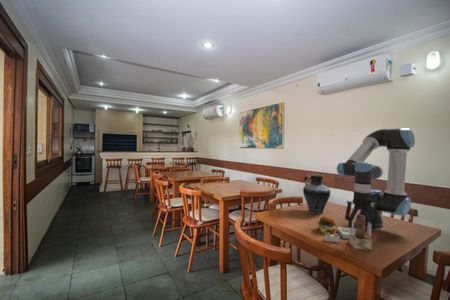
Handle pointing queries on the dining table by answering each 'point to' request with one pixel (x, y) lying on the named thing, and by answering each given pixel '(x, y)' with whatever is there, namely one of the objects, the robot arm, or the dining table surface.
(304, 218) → the dining table surface
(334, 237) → the rail
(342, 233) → the tray
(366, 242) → the jig block
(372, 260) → the dining table surface
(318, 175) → the jug
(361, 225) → the dowel
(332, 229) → the cheeseburger
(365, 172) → the robot arm
